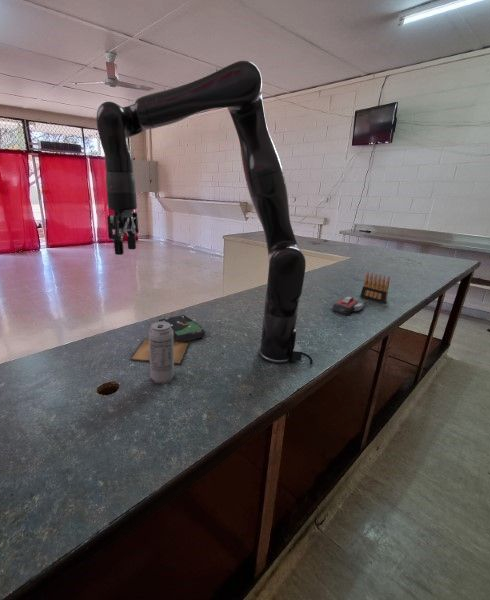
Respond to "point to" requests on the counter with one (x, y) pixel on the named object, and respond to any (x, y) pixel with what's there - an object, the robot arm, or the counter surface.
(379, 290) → the ammunition clip
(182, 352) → the cork pad
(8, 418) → the counter surface
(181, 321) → the disk drive
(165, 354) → the energy drink can
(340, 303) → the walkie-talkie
